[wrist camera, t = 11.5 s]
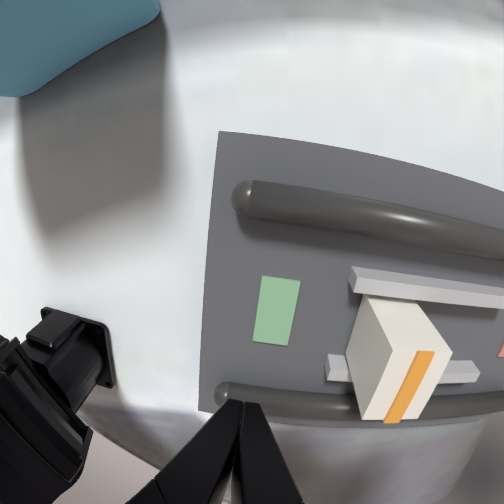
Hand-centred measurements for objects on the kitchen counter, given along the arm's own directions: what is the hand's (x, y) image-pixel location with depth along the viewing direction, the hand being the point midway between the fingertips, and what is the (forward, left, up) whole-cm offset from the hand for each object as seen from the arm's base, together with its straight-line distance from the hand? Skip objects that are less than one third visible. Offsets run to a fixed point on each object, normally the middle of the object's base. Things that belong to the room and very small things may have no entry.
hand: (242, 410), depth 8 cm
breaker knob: (-2, -7, -9) cm, 12 cm away
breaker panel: (-2, -10, -12) cm, 16 cm away
